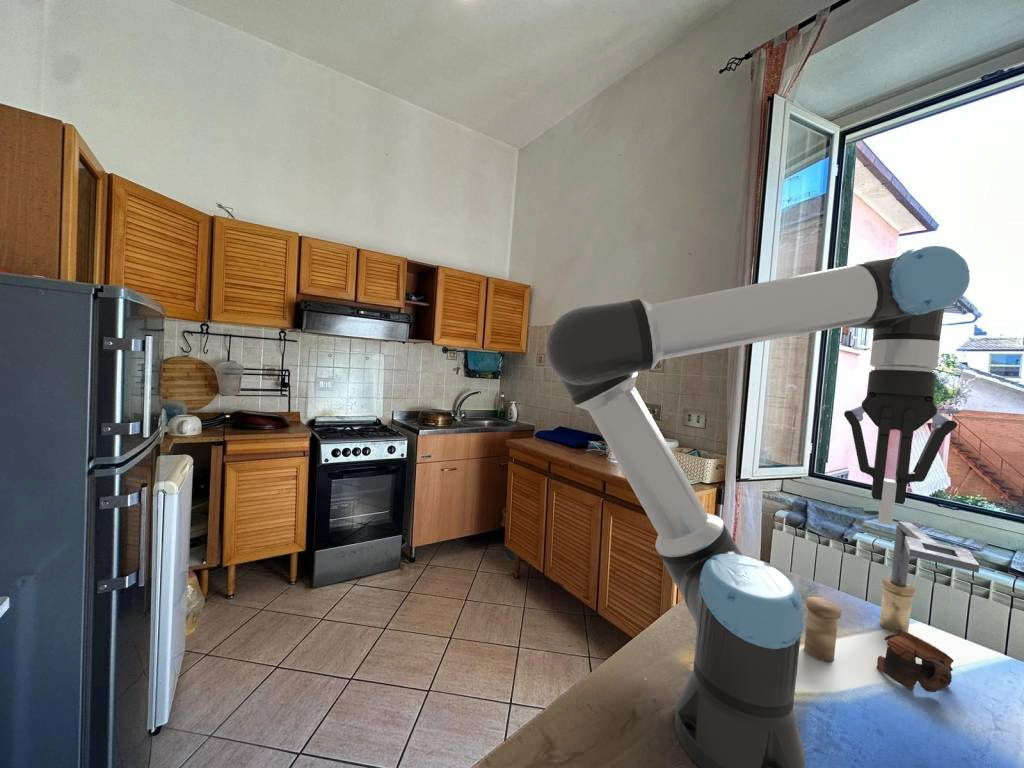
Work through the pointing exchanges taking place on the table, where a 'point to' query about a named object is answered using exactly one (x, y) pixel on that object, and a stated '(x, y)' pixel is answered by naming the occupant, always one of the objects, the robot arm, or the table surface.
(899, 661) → the broken brown pot
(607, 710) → the table surface
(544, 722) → the table surface
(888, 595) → the aperture bracket
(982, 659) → the table surface
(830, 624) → the oak collar post
